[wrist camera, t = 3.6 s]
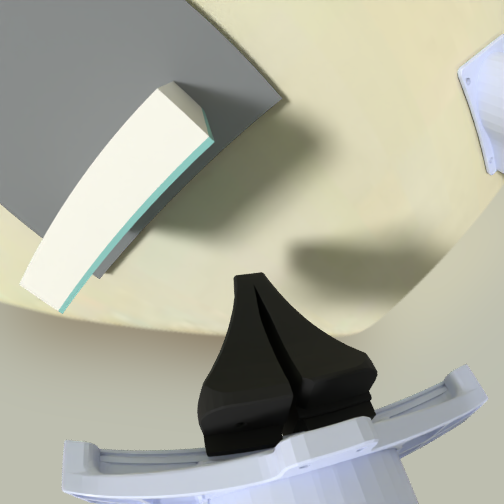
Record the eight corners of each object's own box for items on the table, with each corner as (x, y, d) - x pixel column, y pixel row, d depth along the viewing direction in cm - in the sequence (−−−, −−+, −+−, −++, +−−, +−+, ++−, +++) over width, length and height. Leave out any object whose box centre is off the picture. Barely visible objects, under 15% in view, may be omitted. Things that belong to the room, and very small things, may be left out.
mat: (278, 97, 13) (282, 98, 13) (101, 272, 17) (99, 279, 16) (51, -85, 3) (47, -88, 3) (-80, 113, 7) (-85, 115, 7)
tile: (204, 110, 12) (214, 141, 7) (98, 226, 14) (62, 313, 9) (173, 80, 11) (157, 88, 6) (70, 204, 13) (19, 284, 8)
